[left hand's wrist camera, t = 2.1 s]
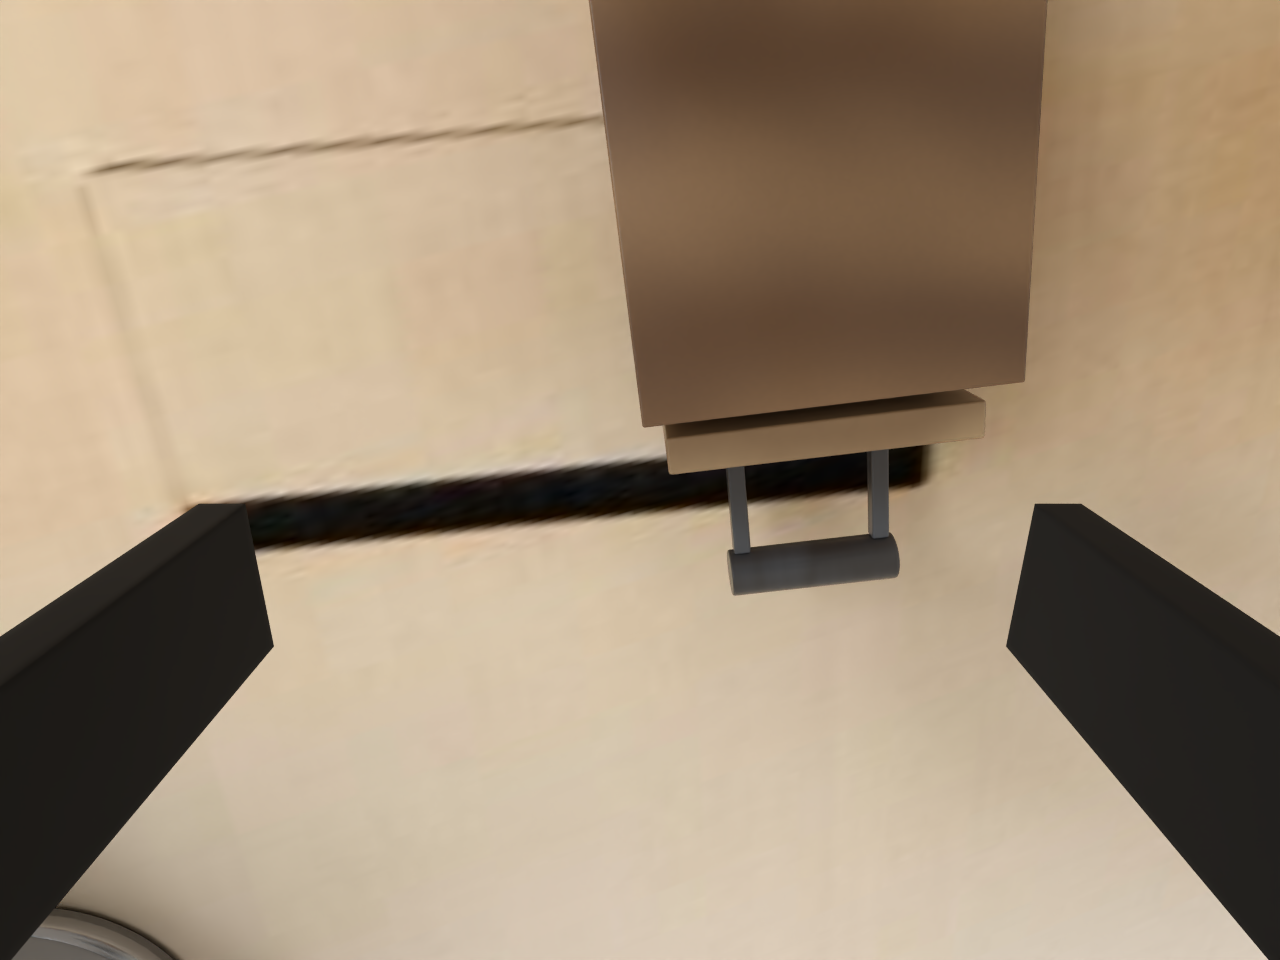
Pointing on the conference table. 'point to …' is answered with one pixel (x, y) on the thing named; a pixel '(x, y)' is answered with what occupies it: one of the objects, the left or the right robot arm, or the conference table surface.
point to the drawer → (815, 437)
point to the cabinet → (821, 196)
